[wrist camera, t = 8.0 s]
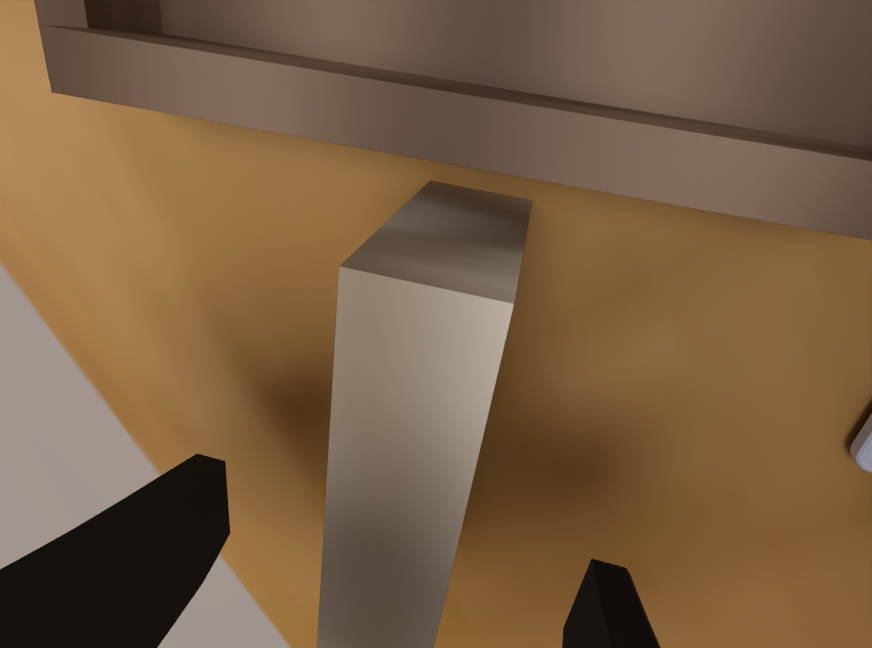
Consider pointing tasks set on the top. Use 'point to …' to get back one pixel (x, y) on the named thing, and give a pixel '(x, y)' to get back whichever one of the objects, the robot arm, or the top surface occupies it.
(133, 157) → the top surface
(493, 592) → the top surface
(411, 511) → the grey rectangular block
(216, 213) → the top surface
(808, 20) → the walnut tray
